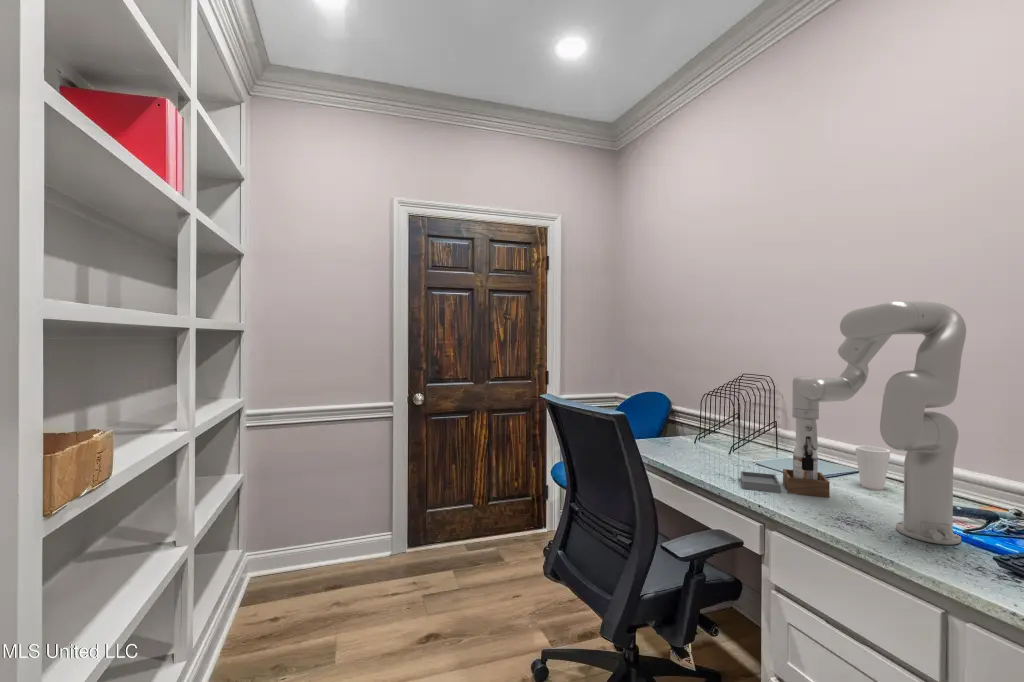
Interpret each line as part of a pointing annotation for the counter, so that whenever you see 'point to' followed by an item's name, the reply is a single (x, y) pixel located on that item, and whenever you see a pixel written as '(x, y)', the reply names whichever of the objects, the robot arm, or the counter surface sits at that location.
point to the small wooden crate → (806, 485)
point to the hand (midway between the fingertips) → (805, 466)
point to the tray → (760, 482)
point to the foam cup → (872, 466)
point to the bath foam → (798, 465)
